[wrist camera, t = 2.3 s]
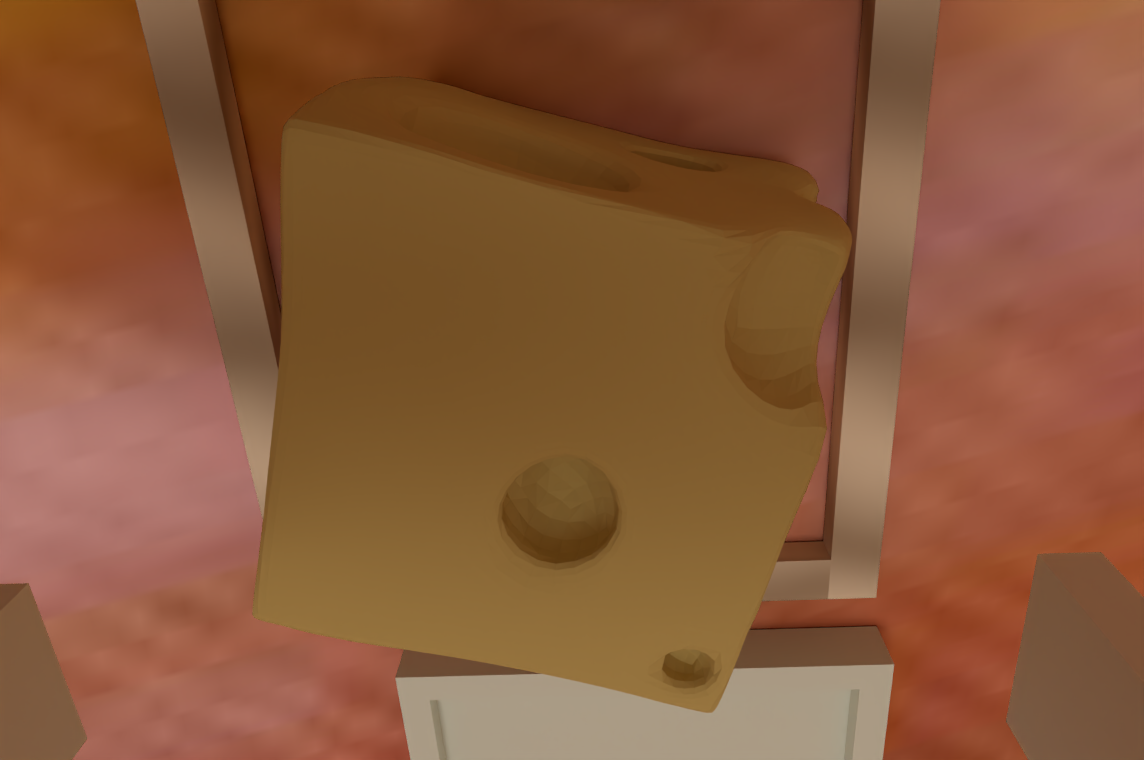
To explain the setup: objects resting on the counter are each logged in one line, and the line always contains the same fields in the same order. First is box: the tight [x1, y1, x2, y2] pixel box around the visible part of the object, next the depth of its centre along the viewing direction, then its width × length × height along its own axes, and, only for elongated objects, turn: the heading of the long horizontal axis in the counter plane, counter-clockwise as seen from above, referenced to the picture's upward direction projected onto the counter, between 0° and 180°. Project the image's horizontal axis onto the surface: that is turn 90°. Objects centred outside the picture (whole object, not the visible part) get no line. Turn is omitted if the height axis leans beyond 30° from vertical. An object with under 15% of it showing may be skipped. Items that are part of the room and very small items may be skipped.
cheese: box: [253, 77, 852, 713], centre depth 19 cm, size 10×11×10 cm
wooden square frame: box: [136, 0, 941, 601], centre depth 23 cm, size 20×19×1 cm
